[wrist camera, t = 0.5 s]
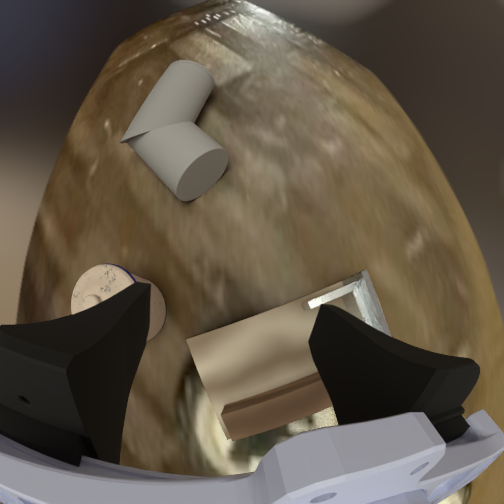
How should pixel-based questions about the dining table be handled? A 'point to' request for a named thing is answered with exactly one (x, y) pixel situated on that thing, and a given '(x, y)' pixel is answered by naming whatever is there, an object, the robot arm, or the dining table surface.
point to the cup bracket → (356, 301)
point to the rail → (276, 407)
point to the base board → (258, 352)
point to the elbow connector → (178, 132)
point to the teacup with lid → (115, 292)
